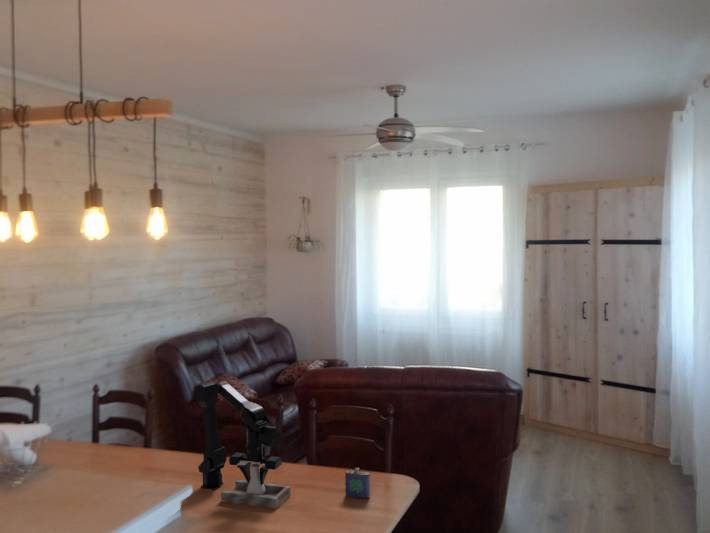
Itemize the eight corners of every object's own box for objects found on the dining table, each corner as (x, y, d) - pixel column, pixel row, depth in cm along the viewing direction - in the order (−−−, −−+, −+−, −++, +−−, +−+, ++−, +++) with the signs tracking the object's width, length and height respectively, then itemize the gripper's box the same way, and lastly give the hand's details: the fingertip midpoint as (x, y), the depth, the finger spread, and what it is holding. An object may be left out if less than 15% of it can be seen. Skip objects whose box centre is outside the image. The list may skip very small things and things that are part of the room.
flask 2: (370, 496, 232) (370, 467, 231) (368, 499, 229) (368, 470, 229) (346, 494, 235) (346, 465, 234) (344, 497, 232) (343, 468, 231)
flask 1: (262, 496, 227) (261, 469, 227) (242, 495, 229) (242, 468, 228) (268, 488, 234) (268, 462, 234) (250, 487, 236) (249, 461, 235)
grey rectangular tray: (221, 501, 229) (221, 492, 229) (237, 489, 241) (237, 479, 241) (276, 508, 222) (276, 499, 222) (290, 495, 234) (290, 486, 234)
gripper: (287, 437, 235) (288, 478, 236) (242, 433, 241) (243, 473, 242) (274, 446, 225) (275, 490, 225) (227, 442, 231) (228, 484, 231)
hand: (255, 483), depth 231 cm, fingers closed on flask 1, 5 cm apart
